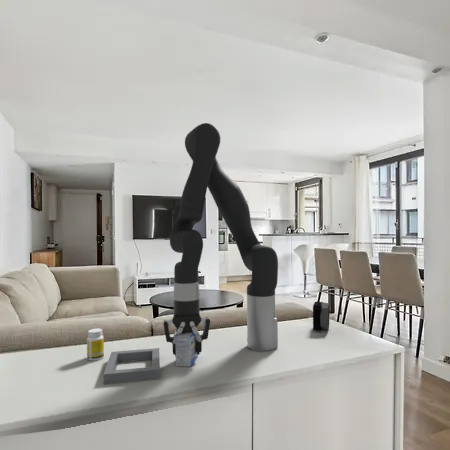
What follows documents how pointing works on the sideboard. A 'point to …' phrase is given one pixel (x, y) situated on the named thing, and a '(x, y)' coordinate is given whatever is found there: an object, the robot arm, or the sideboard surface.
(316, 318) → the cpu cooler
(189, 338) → the medicine box
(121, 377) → the block
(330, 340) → the sideboard surface
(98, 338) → the supplement bottle
